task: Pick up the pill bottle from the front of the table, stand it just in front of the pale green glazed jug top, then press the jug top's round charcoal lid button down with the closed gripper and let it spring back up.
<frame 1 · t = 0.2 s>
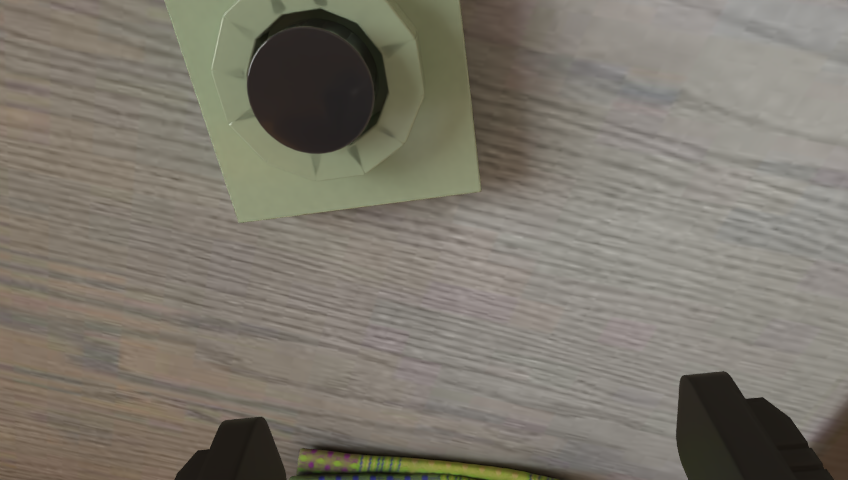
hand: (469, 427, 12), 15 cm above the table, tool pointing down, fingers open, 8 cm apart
lid button: (315, 86, 19), point 4 cm above the table, slide at 0.1 cm
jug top: (336, 58, 23), on the table
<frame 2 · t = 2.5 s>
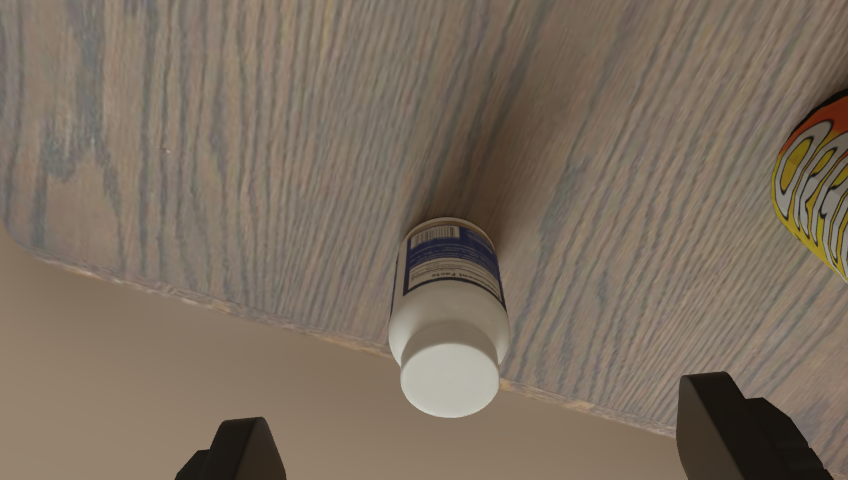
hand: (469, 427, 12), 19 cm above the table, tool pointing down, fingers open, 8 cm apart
pill bottle: (446, 256, 32), on the table
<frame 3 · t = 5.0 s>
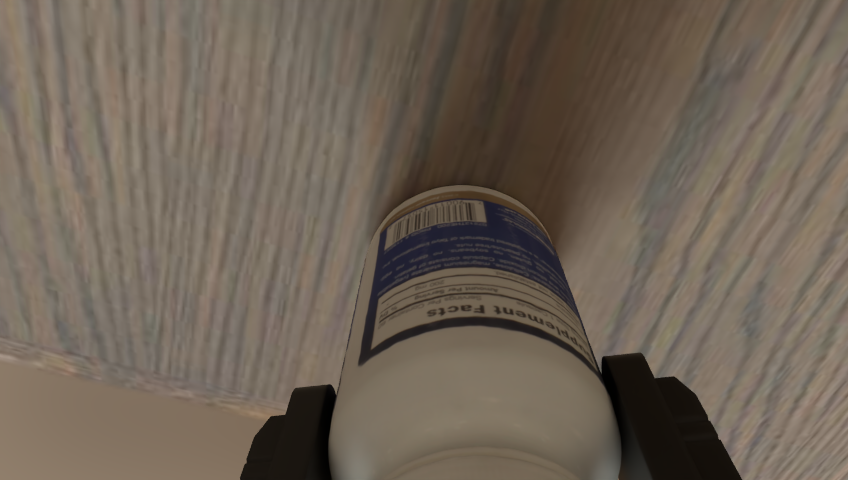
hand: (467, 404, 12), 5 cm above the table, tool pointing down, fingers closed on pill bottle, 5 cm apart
pill bottle: (460, 262, 17), on the table, touching gripper
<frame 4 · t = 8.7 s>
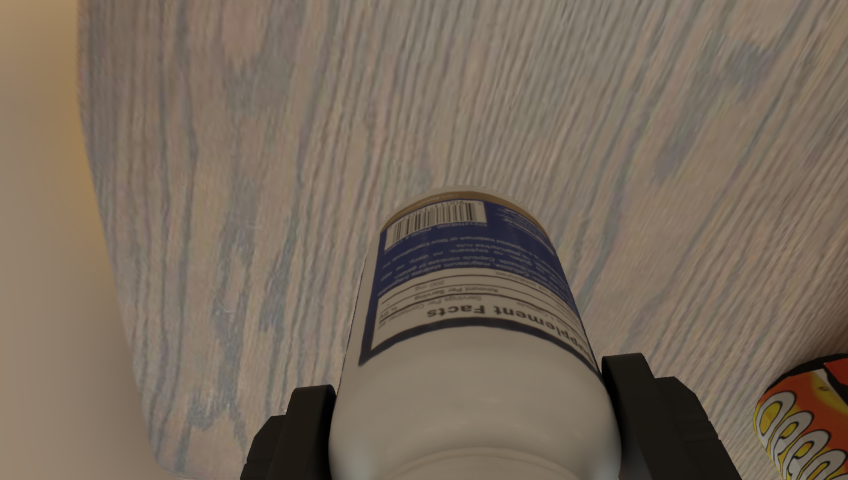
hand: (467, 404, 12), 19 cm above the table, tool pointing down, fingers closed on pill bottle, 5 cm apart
pill bottle: (460, 262, 17), point 14 cm above the table, touching gripper
beverage can: (825, 407, 38), on the table
when the fingers open (5 cm above the table, at t = 12.6 s): pill bottle stays where it is, on the table.
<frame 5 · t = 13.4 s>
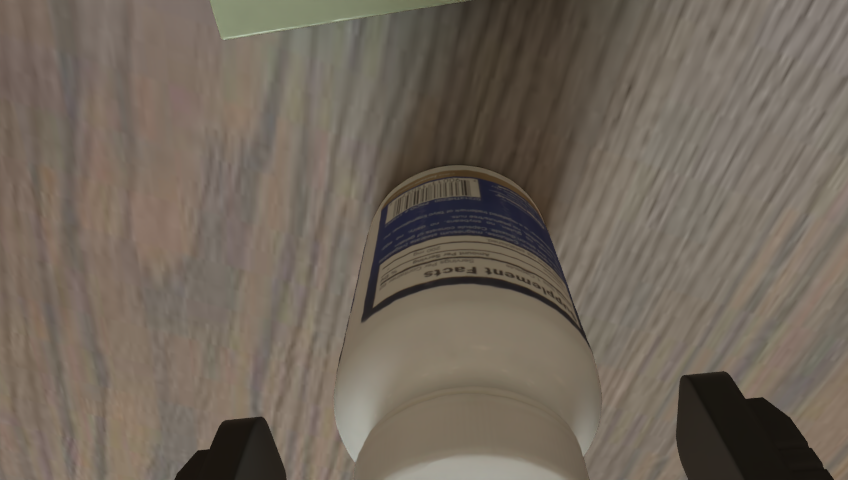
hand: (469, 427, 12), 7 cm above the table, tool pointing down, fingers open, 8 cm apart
pill bottle: (456, 239, 18), on the table
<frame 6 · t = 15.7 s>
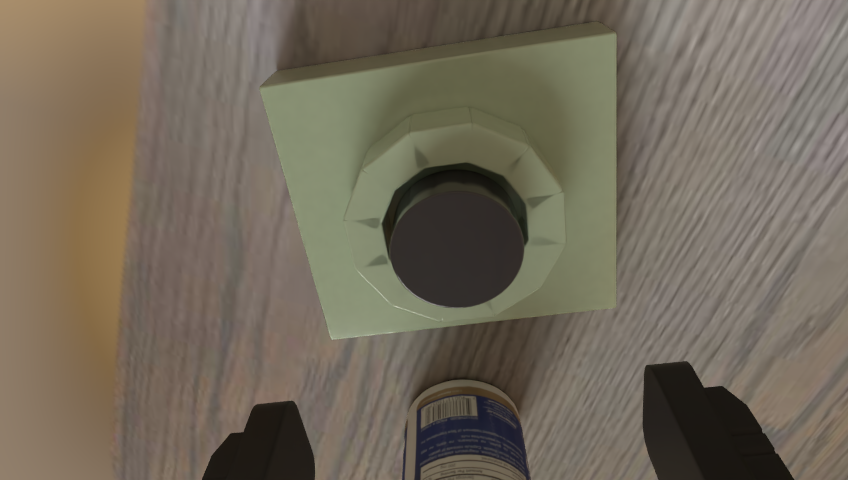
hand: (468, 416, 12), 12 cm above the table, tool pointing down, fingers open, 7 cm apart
pill bottle: (462, 415, 28), on the table
lid button: (456, 239, 18), point 4 cm above the table, slide at 0.1 cm
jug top: (452, 182, 22), on the table
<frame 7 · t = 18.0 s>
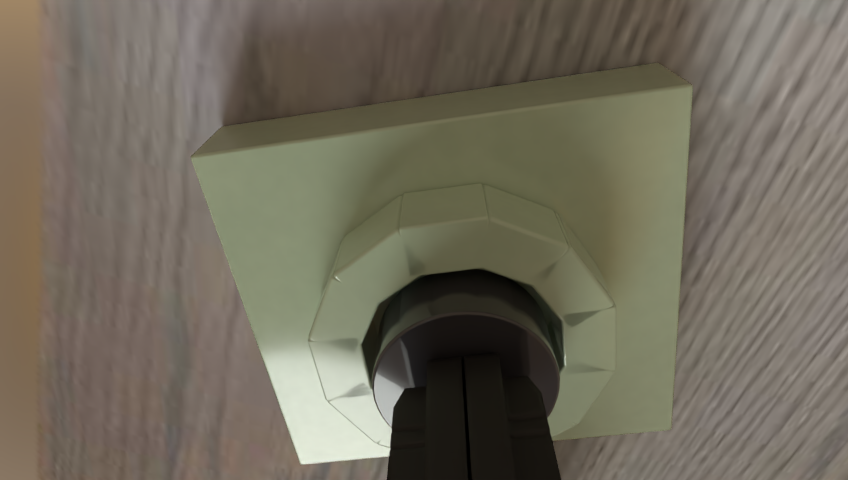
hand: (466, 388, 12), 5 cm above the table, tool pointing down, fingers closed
lid button: (463, 363, 13), point 4 cm above the table, slide at -0.2 cm, touching gripper
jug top: (457, 266, 17), on the table
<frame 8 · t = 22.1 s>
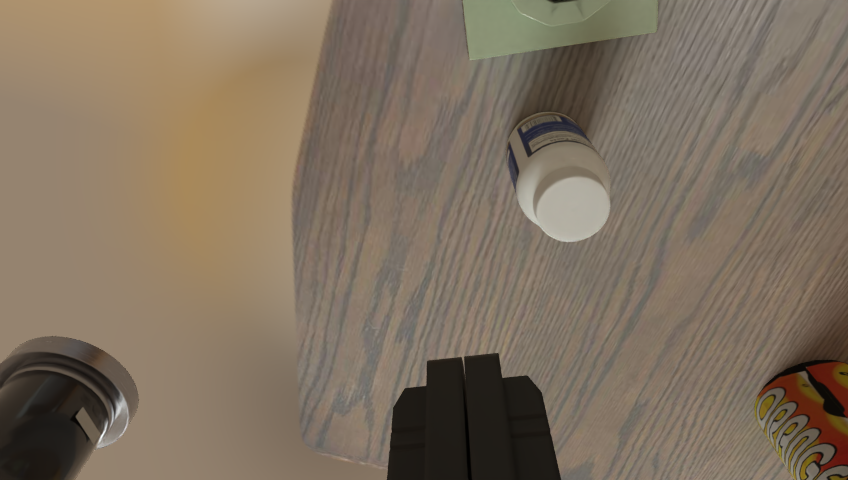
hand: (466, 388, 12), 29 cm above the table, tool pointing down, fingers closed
pill bottle: (544, 147, 40), on the table
beverage can: (807, 399, 51), on the table
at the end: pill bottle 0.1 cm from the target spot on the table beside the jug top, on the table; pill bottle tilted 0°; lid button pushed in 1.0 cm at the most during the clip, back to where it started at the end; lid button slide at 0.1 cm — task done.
